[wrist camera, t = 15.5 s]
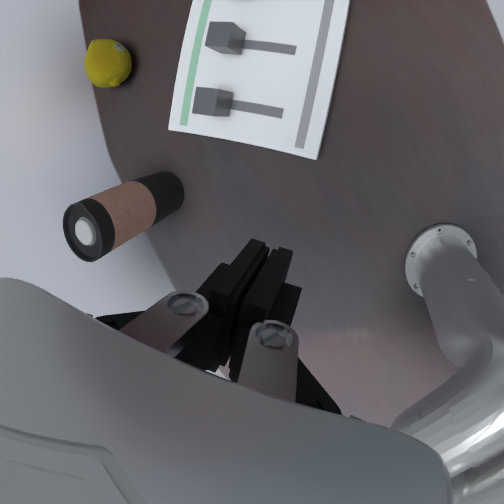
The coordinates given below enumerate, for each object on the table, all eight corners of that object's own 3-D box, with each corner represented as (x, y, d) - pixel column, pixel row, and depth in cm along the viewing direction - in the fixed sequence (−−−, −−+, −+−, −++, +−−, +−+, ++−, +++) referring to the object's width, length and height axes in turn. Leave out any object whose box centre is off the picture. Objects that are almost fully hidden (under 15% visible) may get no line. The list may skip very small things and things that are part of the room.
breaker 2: (233, 92, 36) (218, 88, 31) (228, 116, 37) (213, 116, 33) (213, 89, 36) (196, 86, 32) (208, 113, 38) (191, 113, 33)
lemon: (146, 78, 41) (114, 75, 34) (114, 98, 44) (82, 99, 37) (132, 30, 38) (101, 22, 31) (102, 52, 41) (71, 48, 34)
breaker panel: (353, -16, 26) (353, -25, 24) (318, 157, 39) (316, 160, 37) (210, -26, 30) (201, -33, 28) (178, 128, 43) (168, 129, 41)
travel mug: (169, 222, 51) (90, 274, 34) (141, 191, 50) (56, 231, 33) (194, 192, 47) (111, 238, 30) (163, 160, 46) (72, 190, 29)
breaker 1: (245, 32, 31) (232, 21, 27) (241, 54, 33) (227, 46, 29) (225, 31, 32) (209, 21, 28) (220, 53, 34) (204, 45, 29)
